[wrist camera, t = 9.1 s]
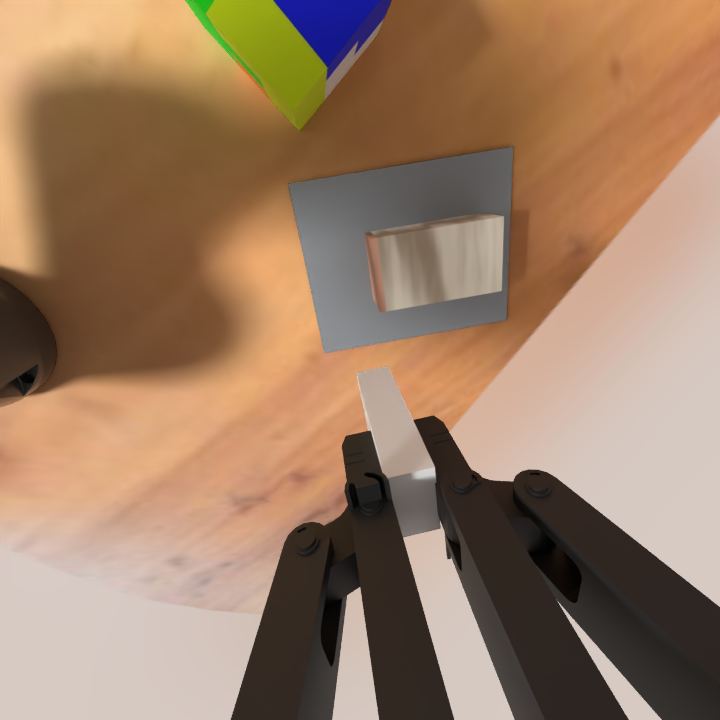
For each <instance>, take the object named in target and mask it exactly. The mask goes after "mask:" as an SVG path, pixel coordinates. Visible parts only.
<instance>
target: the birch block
mask: <svg viewBox="0 0 720 720" xmlns="http://www.w3.org/2000/svg"><path fill="white" fill-rule="evenodd" d="M503 233H504V216H499V215H493V214H486V213H477V214H471V215H465V216H459V217H453V218H447V219H441V220H436V221H430V222H424V223H418V224H412V225H406V226H401V227H395V228H389V229H383V230H377V231H371V232H365V233H364V235H365V242H366V250H367V257H368V264H369V272H370V279H371V287H372V294H373V299H374V301H375V303H376V305H377V307H378V309H379V311H380V313H381V312H387V311H393V310H398V309H404V308H409V307H415V306H421V305H426V304H432V303H437V302H443V301H449V300H454V299H460V298H465V297H471V296H477V295H482V294H488V293H493V292H499V291H502V265H503Z"/></svg>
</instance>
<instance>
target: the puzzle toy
mask: <svg viewBox="0 0 720 720" xmlns="http://www.w3.org/2000/svg"><path fill="white" fill-rule="evenodd" d="M185 1H186V2H187V3H188V5H189V6H190V8H191V9H192V11H193V12H194V13H195V15H196V16H197V18H198V19H199V21H200V22H201V23H202V25H203V26H204V27H205V29H206V30H207V31H208V32H209V33H210V34H211V35H212V36H213V37H214V38H215V40H216V41H217V42H218V43H219V44H220V45H221V46H222V47H223V48H224V49H225V51H226V52H227V53H228V54H229V55H230V56H231V57H232V58H233V59H234V60H235V61H236V63H237V64H238V65H239V66H240V67H241V68H242V69H243V70H244V71H245V72H246V74H247V75H248V76H249V77H250V78H251V79H252V80H253V81H254V82H255V83H256V85H257V86H258V87H259V88H260V89H261V90H262V91H263V92H264V93H265V94H266V96H267V97H268V98H269V99H270V100H271V101H272V102H273V103H274V104H275V105H276V106H277V108H278V109H279V110H280V111H281V112H282V113H283V114H284V115H285V116H286V117H287V119H288V120H289V121H290V122H291V123H292V124H293V125H294V126H295V127H296V128H297V130H298V131H299V132H300V130H301V129H302V128H303V127H304V125H305V124H306V123H307V122H308V120H309V119H310V118H311V117H312V115H313V114H314V113H315V112H316V110H317V109H318V108H319V107H320V105H321V104H322V103H323V102H324V101H325V99H326V98H327V97H328V96H329V94H330V93H331V92H332V91H333V89H334V88H335V87H336V86H337V84H338V83H339V82H340V81H341V79H342V78H343V77H344V76H345V74H346V73H347V72H348V71H349V69H350V68H351V67H352V66H353V64H354V63H355V62H356V61H357V59H358V58H359V57H360V56H361V54H362V53H363V52H364V51H365V49H366V48H367V47H368V46H369V44H370V43H371V42H372V41H373V39H374V38H375V37H376V36H377V34H378V33H379V30H380V28H381V25H382V23H383V20H384V18H385V15H386V13H387V10H388V8H389V6H390V3H391V1H392V0H185Z"/></svg>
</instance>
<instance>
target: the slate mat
mask: <svg viewBox="0 0 720 720" xmlns="http://www.w3.org/2000/svg"><path fill="white" fill-rule="evenodd" d="M512 167H513V147H508V148H502V149H496V150H490V151H484V152H478V153H471V154H465V155H459V156H453V157H447V158H441V159H435V160H429V161H423V162H417V163H411V164H405V165H399V166H393V167H387V168H381V169H374V170H368V171H362V172H356V173H350V174H344V175H338V176H332V177H326V178H320V179H314V180H308V181H302V182H296V183H290V184H288V186H289V190H290V195H291V200H292V204H293V209H294V214H295V218H296V223H297V228H298V232H299V237H300V242H301V246H302V251H303V256H304V260H305V265H306V270H307V274H308V279H309V284H310V288H311V293H312V298H313V302H314V307H315V312H316V316H317V321H318V326H319V330H320V335H321V340H322V345H323V349H324V353H329V352H334V351H340V350H345V349H351V348H356V347H362V346H367V345H373V344H378V343H384V342H389V341H395V340H400V339H406V338H411V337H417V336H422V335H428V334H433V333H439V332H444V331H450V330H455V329H461V328H466V327H472V326H477V325H483V324H488V323H494V322H499V321H505V320H507V294H508V269H509V243H510V218H511V192H512ZM477 213H486V214H493V215H499V216H504V233H503V265H502V291H499V292H493V293H488V294H482V295H477V296H471V297H465V298H460V299H454V300H449V301H443V302H437V303H432V304H426V305H421V306H415V307H409V308H404V309H398V310H393V311H387V312H381V313H380V311H379V309H378V307H377V305H376V303H375V301H374V299H373V294H372V287H371V279H370V272H369V264H368V257H367V250H366V242H365V235H364V233H365V232H371V231H377V230H383V229H389V228H395V227H401V226H406V225H412V224H418V223H424V222H430V221H436V220H441V219H447V218H453V217H459V216H465V215H471V214H477Z"/></svg>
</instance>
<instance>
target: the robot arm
mask: <svg viewBox="0 0 720 720" xmlns="http://www.w3.org/2000/svg"><path fill="white" fill-rule="evenodd" d="M55 362H56V345H55V341H54V337H53V334H52V332H51V329H50V327H49V325H48V324H47V322H46V320H45V319H44V317H43V316H42V314H41V313H40V312H39V310H38V309H37V308H36V307H35V306H34V305H33V303H32V302H31V301H30V300H29V299H28V298H26V297H25V296H24V295H23V294H22V293H21V292H19V291H18V290H17V289H16V288H14V287H13V286H11V285H10V284H8V283H7V282H5V281H4V280H2V279H0V407H2V406H6V405H9V404H12V403H14V402H17V401H19V400H21V399H23V398H24V397H26V396H27V395H29V394H30V393H32V392H33V391H34V390H36V389H37V388H39V387H40V386H41V385H42V384H44V383H45V382H46V381H47V379H48V378H49V377H50V375H51V373H52V371H53V369H54V366H55ZM356 374H357V379H358V384H359V389H360V394H361V400H362V405H363V410H364V415H365V420H366V424H367V428H368V431H366V432H362V433H357V434H353V435H348V436H346V437H345V439H344V442H343V444H342V450H343V457H344V464H345V471H346V478H347V482H346V484H345V495H346V499H347V502H348V506H347V508H346V509H345V511H344V512H343V513H342V514H341V516H340V517H338V518H337V519H335V520H334V521H332V522H330V523H329V524H327V525H325V526H323V525H322V524H320V523H316V522H309V523H304V524H302V525H300V526H298V527H296V528H295V529H294V530H293V531H292V532H291V533H290V534H289V535H288V537H287V539H286V541H285V543H284V546H283V549H282V553H281V556H280V559H279V563H278V566H277V569H276V573H275V576H274V579H273V582H272V586H271V589H270V592H269V596H268V599H267V602H266V605H265V609H264V612H263V615H262V619H261V622H260V626H259V629H258V632H257V635H256V638H255V642H254V645H253V648H252V652H251V655H250V658H249V662H248V665H247V668H246V671H245V675H244V678H243V681H242V685H241V688H240V692H239V694H238V698H237V701H236V704H235V708H234V711H233V714H232V717H231V720H332V716H333V708H334V699H335V691H336V683H337V674H338V666H339V657H340V650H341V641H342V633H343V625H344V616H345V608H346V600H347V595H348V594H349V593H351V592H353V591H354V590H356V589H357V588H359V587H361V594H362V602H363V609H364V615H365V623H366V630H367V636H368V644H369V651H370V658H371V665H372V672H373V679H374V686H375V693H376V700H377V707H378V715H379V720H454V717H453V714H452V710H451V707H450V703H449V699H448V696H447V692H446V689H445V685H444V682H443V678H442V675H441V671H440V667H439V664H438V660H437V657H436V653H435V650H434V646H433V643H432V639H431V635H430V632H429V629H428V625H427V621H426V618H425V614H424V611H423V607H422V604H421V600H420V597H419V593H418V590H417V586H416V583H415V579H414V575H413V572H412V568H411V564H410V561H409V558H408V554H407V551H406V547H405V543H404V540H403V537H407V536H411V535H415V534H419V533H424V532H428V531H432V530H436V529H440V521H441V524H442V526H443V528H444V531H445V541H446V552H447V558H448V559H451V557H452V560H453V563H454V565H455V568H456V570H457V573H458V575H459V578H460V580H461V583H462V586H463V588H464V591H465V593H466V596H467V598H468V601H469V604H470V606H471V609H472V611H473V614H474V616H475V619H476V621H477V624H478V627H479V629H480V631H481V634H482V637H483V639H484V642H485V644H486V647H487V650H488V652H489V655H490V657H491V660H492V662H493V665H494V667H495V670H496V673H497V675H498V678H499V680H500V683H501V685H502V688H503V691H504V693H505V696H506V698H507V701H508V703H509V706H510V708H511V711H512V714H513V716H514V719H515V720H629V719H628V718H627V716H626V715H625V713H624V711H623V710H622V708H621V706H620V705H619V703H618V701H617V700H616V698H615V696H614V695H613V693H612V691H611V690H610V688H609V686H608V685H607V683H606V681H605V680H604V678H603V677H602V675H601V673H600V671H599V670H598V668H597V666H596V665H595V663H594V662H593V660H592V658H591V656H590V655H589V653H588V651H587V650H586V648H585V646H584V645H583V643H582V642H581V640H580V638H579V637H578V635H577V633H576V632H575V630H574V628H573V627H572V625H571V624H570V622H569V620H568V618H567V617H566V615H565V613H564V612H563V610H562V608H561V607H560V605H559V603H560V604H561V605H562V606H563V607H564V609H565V610H566V611H567V612H568V613H569V614H570V616H571V617H572V618H573V619H574V620H575V621H576V622H577V623H578V625H579V626H580V627H581V628H582V629H583V630H584V631H585V632H586V634H587V635H588V636H589V637H590V638H591V639H592V641H593V642H594V643H595V644H596V645H597V646H598V647H599V648H600V650H601V651H602V652H603V653H604V654H605V655H606V657H607V658H608V659H609V660H610V661H611V662H612V663H613V664H614V665H615V667H616V668H617V669H618V670H619V671H620V672H621V674H622V675H623V676H624V677H625V678H626V679H627V680H628V681H629V683H630V684H631V685H632V686H633V687H634V688H635V690H636V691H637V692H638V693H639V694H640V695H641V696H642V698H643V699H644V700H645V701H646V702H647V703H648V704H649V705H650V707H651V708H652V709H653V710H654V711H655V712H656V713H657V715H658V716H659V717H660V718H661V719H662V720H720V607H719V606H718V605H716V604H715V603H714V602H712V601H711V600H710V599H709V598H708V597H706V596H705V595H704V594H702V593H701V592H700V591H699V590H697V589H696V588H695V587H693V586H692V585H691V584H690V583H689V582H687V581H686V580H685V579H684V578H682V577H681V576H680V575H678V574H677V573H676V572H675V571H673V570H672V569H671V568H670V567H668V566H667V565H666V564H664V563H663V562H662V561H661V560H659V559H658V558H657V557H656V556H654V555H653V554H652V553H651V552H649V551H648V550H647V549H646V548H644V547H643V546H642V545H641V544H639V543H638V542H637V541H635V540H634V539H633V538H632V537H630V536H629V535H628V534H626V533H625V532H624V531H623V530H622V529H620V528H619V527H618V526H616V525H615V524H614V523H613V522H611V521H610V520H609V519H607V518H606V517H605V516H604V515H603V514H601V513H600V512H599V511H597V510H596V509H595V508H594V507H592V506H591V505H590V504H589V503H587V502H586V501H585V500H584V499H582V498H581V497H580V496H579V495H577V494H576V493H575V492H573V491H572V490H571V489H570V488H568V487H567V486H566V485H565V484H563V483H562V482H561V481H559V480H558V479H557V478H556V477H554V476H552V475H551V474H549V473H547V472H544V471H540V470H525V471H522V472H520V473H519V474H517V475H516V476H515V479H514V481H513V482H510V481H493V480H488V479H485V478H482V477H481V476H480V475H479V474H478V473H477V472H475V471H473V470H471V468H470V467H469V465H468V464H467V462H466V460H465V459H464V457H463V455H462V454H461V452H460V450H459V448H458V446H457V445H456V443H455V441H454V440H453V438H452V436H451V434H450V433H449V431H448V429H447V428H446V426H445V424H444V422H442V421H441V420H439V419H438V418H437V417H435V416H429V417H425V418H420V419H416V420H413V419H412V416H411V414H410V412H409V410H408V408H407V406H406V403H405V401H404V399H403V397H402V395H401V392H400V390H399V388H398V386H397V384H396V382H395V379H394V377H393V375H392V373H391V371H390V369H389V366H386V367H381V368H376V369H372V370H367V371H362V372H358V373H356ZM557 601H558V602H559V603H558V602H557Z"/></svg>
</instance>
